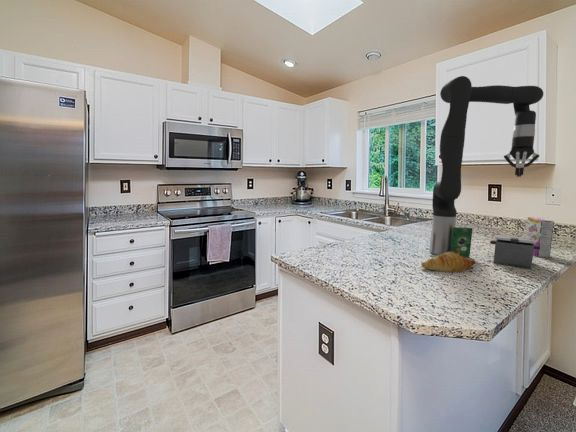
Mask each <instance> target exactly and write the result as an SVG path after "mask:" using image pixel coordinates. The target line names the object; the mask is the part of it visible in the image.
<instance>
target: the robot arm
mask: <svg viewBox="0 0 576 432" xmlns="http://www.w3.org/2000/svg"><path fill="white" fill-rule="evenodd" d="M472 85H473V84H472V81H471V79H470V78H469V77H467V76H464V75H461V76H460V75H459V76H457V77H455V78H453V79H451V80H450V81H448V82H446V83H444V85H443V86H442V87H441V89H440V94H439V95H440V98H441V100H442V101H443V102H445V103H446V104H449V110H448V115H447V116H446V117H447V118H446V120H445V122H444V124H443V127H442V130H441V131H440V140H439V155H440V160H441V164H442V165H441V166H442V171H441V179H440V180H438V181H437V182H436V183H435V185H434V186H433V191H432V205H431V206H432V212H433V213H432V215H433V216H432V227H431V231H430V239H429V240H430V241H429V242H430V243H429V252H430V254H432V255H433V254H434V255H437V256H439V255H441V254H443V253H445V252H451V245H452V235H453V227H456V222H457V214H458V213H457V212H458V211H457V209H456V206H455V201H456V200H457V199H458V198H459V197H460V195H461V192H462V164H463V157H464V155H463V154H464V147H465V139H466V128H467V127H466V126H467V118H468V117H467V116H468V110H469V105H470V103H471V102H473V103H474V102H475V103H491V104H503V105H508V104H509V105H510V104H513V105H512V106H513V111H514V115H515V119H514V128H513V131H512V138H511V139H512V141H511V149H510V150H509V152H508V153H507V154H506V155H504V156H503V158H504V159H505V161H506V162H507V163H508V164H509V165H510V166H511V167H513V168H515V172H514V175H515V176H516V177H518V178H521V177H522V176H523V175H524V171H525V168H527V167H530V166H531V165H532V164H533V163H534V162H535V161H536V160H537V159H538V158H540V154H538V153H536V152H535V150H534V143H535V136H536V121H537V112H536V111H534V110H531V109H530V106H531V105H534V104H536V103H538V102H541V100H542V99H543V97H544V91H543V89H542V87H540V86H538V85H522V86H512V85H495V84H494V85H486V86H472ZM511 157H512V158H513V159H514V160H515V163H514V162H513V161H512V160H511ZM530 157H531V159H530V160H529V161H528V162H527V163H526V161H527V160H528V159H529V158H530ZM520 161H521V163H520Z"/></svg>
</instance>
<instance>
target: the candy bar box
mask: <svg viewBox="0 0 576 432" xmlns="http://www.w3.org/2000/svg"><path fill="white" fill-rule="evenodd" d="M554 224H555V220H550V219H546V218H544V217H535V216H532V217H531V216H528V217H527V220H526V229H525V230H526V231H525V238H534V239H535V244H534V245H537V246H540V250H537V249H534V251H533V256H535V257H537V258H551V251H552V250H551V249H552V241H553V233H554Z"/></svg>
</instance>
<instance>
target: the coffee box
mask: <svg viewBox="0 0 576 432" xmlns="http://www.w3.org/2000/svg"><path fill="white" fill-rule="evenodd" d="M472 235H473V228H472V227H470V226H464V227H463V226H457V227H456V226H455V227H453V235H452V245H451V252H455V253H458V254H459V255H460V256H463V257H465V258H470V256H471V245H472V240H473V239H472V238H473V236H472Z"/></svg>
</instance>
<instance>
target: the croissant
mask: <svg viewBox="0 0 576 432" xmlns="http://www.w3.org/2000/svg"><path fill="white" fill-rule="evenodd" d="M475 264H476V261H475V260H473V259H470V258H469V257H463V256H460V255H459V254H458V253H455V252H445V253H443V254H441V255H435V256H434V257H433V258H428V259H427V260H426V261H423V262H421V267H422V268H423V269H426V270H431V271H437V272H443V271H444V273H457V272H462V271H465V270H469V269H471V268H472V267H474V265H475Z"/></svg>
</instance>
